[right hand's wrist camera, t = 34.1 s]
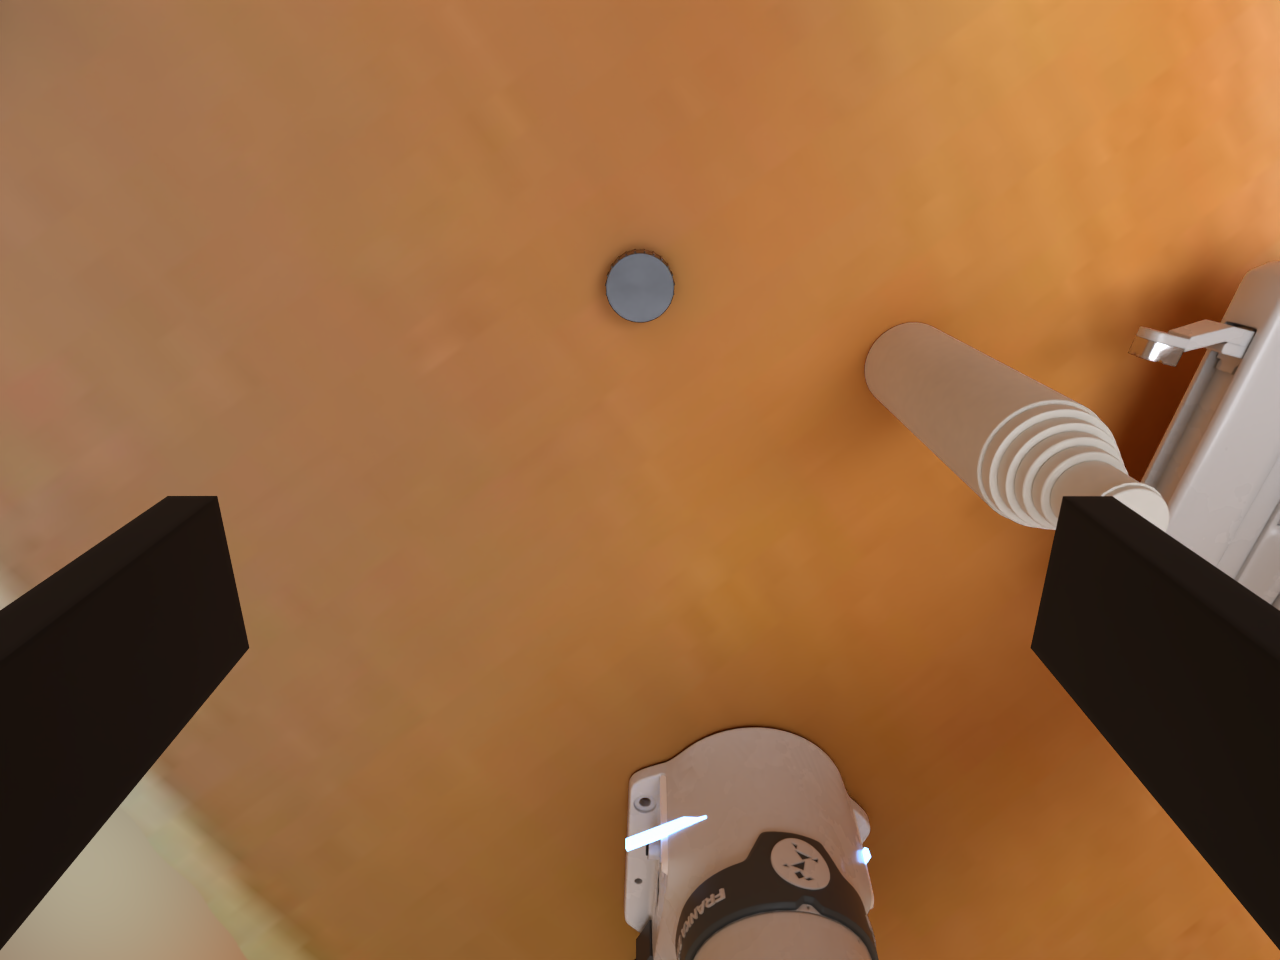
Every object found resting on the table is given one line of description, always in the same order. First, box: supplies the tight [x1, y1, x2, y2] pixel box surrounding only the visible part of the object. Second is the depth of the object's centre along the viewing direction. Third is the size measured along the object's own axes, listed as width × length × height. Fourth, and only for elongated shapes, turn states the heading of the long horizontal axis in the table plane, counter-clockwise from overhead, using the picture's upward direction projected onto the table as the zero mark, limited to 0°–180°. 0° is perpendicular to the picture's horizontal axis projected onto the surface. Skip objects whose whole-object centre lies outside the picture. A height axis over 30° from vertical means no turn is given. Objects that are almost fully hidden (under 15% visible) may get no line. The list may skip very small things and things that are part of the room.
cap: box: [605, 249, 675, 322], centre depth 45 cm, size 4×4×2 cm
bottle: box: [865, 322, 1169, 532], centre depth 37 cm, size 5×5×23 cm
